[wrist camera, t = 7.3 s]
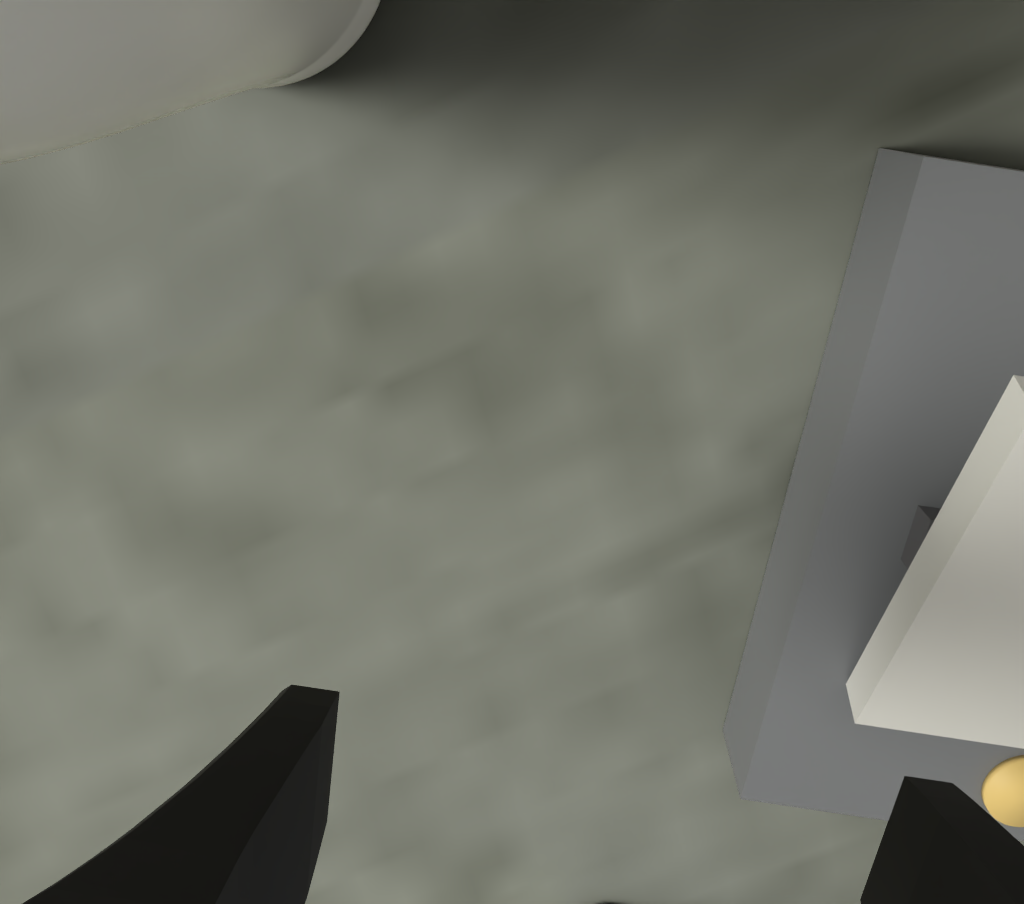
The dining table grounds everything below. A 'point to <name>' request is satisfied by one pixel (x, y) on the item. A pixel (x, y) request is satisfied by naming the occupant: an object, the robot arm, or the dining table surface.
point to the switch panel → (883, 489)
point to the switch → (959, 607)
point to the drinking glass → (152, 60)
